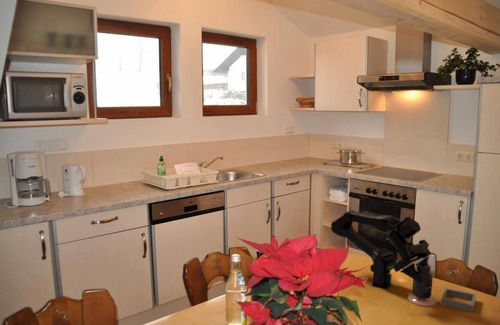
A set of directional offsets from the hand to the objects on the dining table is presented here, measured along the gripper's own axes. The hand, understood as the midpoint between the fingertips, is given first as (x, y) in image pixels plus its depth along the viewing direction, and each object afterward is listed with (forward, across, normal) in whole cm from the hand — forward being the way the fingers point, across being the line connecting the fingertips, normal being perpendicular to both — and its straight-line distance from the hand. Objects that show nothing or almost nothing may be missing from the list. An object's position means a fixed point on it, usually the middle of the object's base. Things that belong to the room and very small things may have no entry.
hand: (426, 280), depth 156 cm
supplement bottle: (+4, 0, +6) cm, 7 cm away
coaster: (+5, 0, +7) cm, 9 cm away
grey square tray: (+12, +9, 0) cm, 15 cm away
